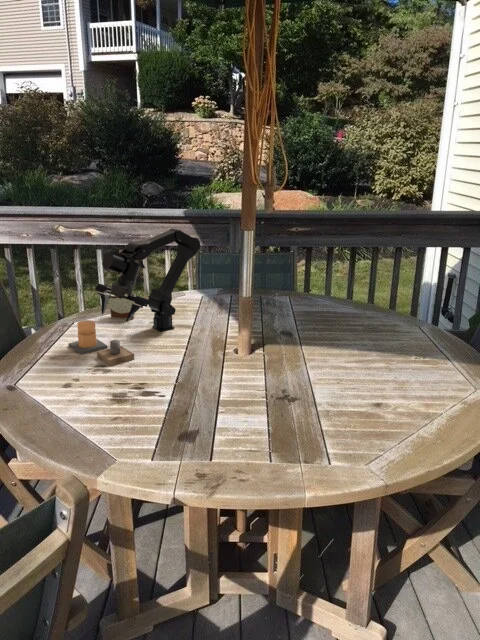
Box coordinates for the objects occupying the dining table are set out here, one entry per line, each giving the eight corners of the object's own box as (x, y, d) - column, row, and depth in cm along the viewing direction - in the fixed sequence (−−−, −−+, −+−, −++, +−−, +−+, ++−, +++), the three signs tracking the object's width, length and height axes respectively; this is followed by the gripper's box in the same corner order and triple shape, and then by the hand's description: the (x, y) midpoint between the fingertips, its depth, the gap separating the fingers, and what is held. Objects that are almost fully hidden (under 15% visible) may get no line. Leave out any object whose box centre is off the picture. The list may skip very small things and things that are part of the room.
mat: (94, 339, 197) (94, 337, 196) (107, 348, 189) (107, 345, 189) (68, 345, 190) (68, 343, 190) (80, 354, 183) (80, 351, 183)
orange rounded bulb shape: (96, 340, 193) (95, 319, 190) (96, 346, 187) (94, 325, 185) (79, 341, 192) (77, 320, 189) (78, 348, 186) (76, 326, 184)
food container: (141, 314, 225) (140, 291, 222) (137, 319, 220) (136, 295, 216) (112, 313, 227) (111, 290, 223) (107, 317, 221) (106, 294, 217)
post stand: (121, 351, 187) (120, 335, 185) (134, 359, 180) (133, 342, 179) (97, 357, 181) (96, 340, 179) (109, 365, 175) (108, 348, 173)
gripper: (96, 266, 185) (82, 309, 184) (147, 282, 184) (133, 326, 184) (106, 269, 196) (92, 310, 196) (154, 285, 195) (141, 326, 195)
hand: (114, 318), depth 192 cm, fingers open, 9 cm apart
